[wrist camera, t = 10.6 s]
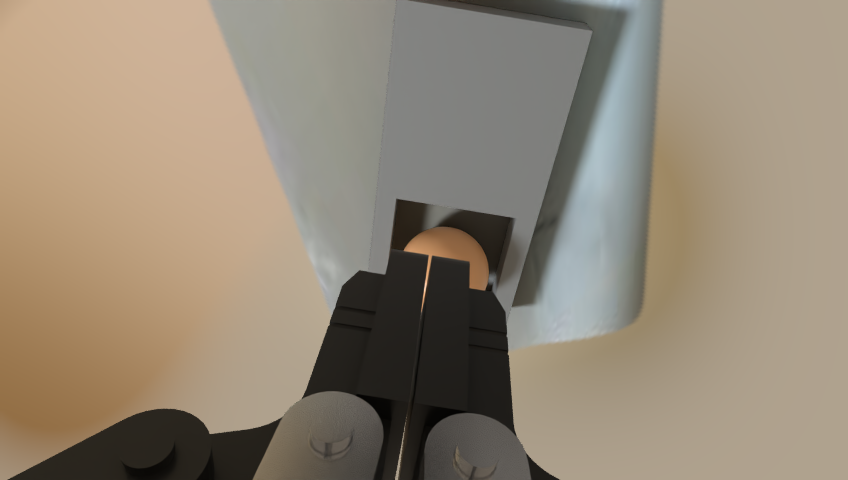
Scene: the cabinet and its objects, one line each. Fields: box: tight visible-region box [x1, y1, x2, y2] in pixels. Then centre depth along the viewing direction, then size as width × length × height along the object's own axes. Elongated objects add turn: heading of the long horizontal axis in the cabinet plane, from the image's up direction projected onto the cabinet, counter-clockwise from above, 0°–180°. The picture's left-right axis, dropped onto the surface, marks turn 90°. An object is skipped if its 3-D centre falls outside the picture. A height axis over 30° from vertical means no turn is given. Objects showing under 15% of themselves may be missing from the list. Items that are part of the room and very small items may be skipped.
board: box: [368, 0, 593, 324], centre depth 40 cm, size 24×12×2 cm, turn 172°
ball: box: [404, 227, 489, 312], centre depth 41 cm, size 7×7×7 cm
